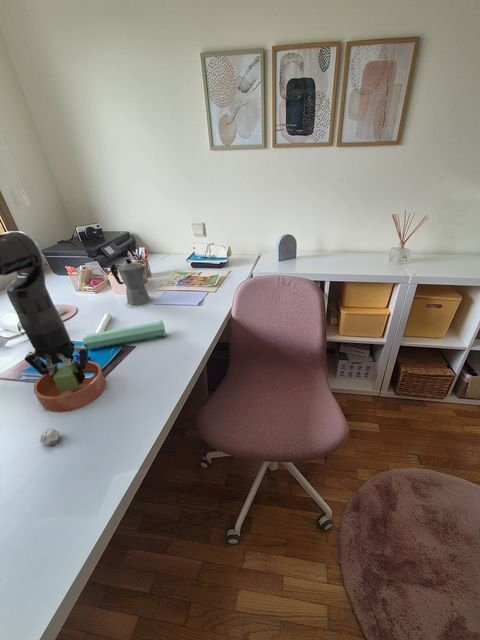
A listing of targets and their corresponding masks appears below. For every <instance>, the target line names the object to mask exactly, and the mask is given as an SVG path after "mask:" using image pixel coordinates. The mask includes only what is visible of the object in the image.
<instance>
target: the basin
mask: <svg viewBox="0 0 480 640" xmlns="http://www.w3.org/2000/svg"><path fill="white" fill-rule="evenodd" d="M77 361H78V362H79V363H80V360H77ZM57 366H58V368H59V367H60V365H57ZM82 371H83V373H95V375H94V376H93V377H91V378H84V380H83V382H82V383H80V384H79V386H78V389H77V390H70V391H64V392H60V391H59V389H58V387H57V385H56V383H55V382H54V380H53V378H52V376H50V375H49V374H45V375H41V376H40V377H38V379H37V380H36V381H35V383H34V384H33V393H34V395H35V397H36V398H37V400H38V402H39V404H40V405H41V407H42V408H43V409H45V410H46V411H49V412H53V413H63V412H64V413H65V412H71V411H73V410H77V409H80V408H82V407H85V406H87V405H88V404H90V403H93V402H94V401H95V400H96V399H97V398H98V397H100V396H101V395H102V394H103V393H104V391H105V390H106V387H107V379H106V377H105V374H104V372H103V369H102V366H101V365H100V364H99V363H97V362H95V361H92V360H88V363H87V365H86V367H85V369H83V370H82Z"/></svg>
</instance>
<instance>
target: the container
mask: <svg viewBox="0 0 480 640" xmlns="http://www.w3.org/2000/svg"><path fill="white" fill-rule="evenodd" d="M166 334H167V333H166V330H165V325H164V321H163V319H159V321H154V322H148V323H144V324H143V323H142V324H137V325H133V326H127V327H121V328H115V329H111V330H104V332H98V333H96V332H93V333H88V334H85V335H84V336H83V338H82V341H83V345H87V346H88V350H92V351H93V350H94V349H93V348H96V349H95V350H97V349H99V348H98V347H101V348H100V349H103V348H106V347H110V346H109V345H112V347H113V346H117V345H123V344H128V343H133V342H138V341H145V340H149V339H154V338H159V337H163V338H166V337H167V335H166ZM104 346H106V347H104Z"/></svg>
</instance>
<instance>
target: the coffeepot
mask: <svg viewBox="0 0 480 640" xmlns="http://www.w3.org/2000/svg"><path fill="white" fill-rule="evenodd" d="M125 262H126V263H123V264H117V263H116V264H114V263H113V264H111V266H110V267H109V271H110V272H111V274H112V276H113V277H114V279H115V281H116V282H117V283H118V285H125V287H126V288H125V290H126V291H125V293H126V299H127V300H126V302H127V304H128V305H130V306H142V305H146V304H147V303H148V302H150V296H149V293H148V291H147V289H146V286H145V284H144V276H143V275H144V272H145V270H146V269H147V267H146V266H144V265H143V264H142V263H139V262H131V259H130V258H126V259H125ZM116 270H117V271H118V273H119V276H120V277H119V276H118V274H117V272H116ZM120 278H121V279H120ZM121 280H122V281H121Z"/></svg>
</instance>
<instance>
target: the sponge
mask: <svg viewBox="0 0 480 640" xmlns="http://www.w3.org/2000/svg"><path fill="white" fill-rule="evenodd" d="M59 366H60V367H59V368H58V370H57V372H56V374H55V375H54V377H53V379H54V381H55V383H56V385H57V387H58V389H59V391H60V392H64V391H70V390H77V389H78V386H79V383H78V381H77V379H76V377H75V375H74V372H73V371H72V369H71V368H70V367H67V366H66V364H65V363H60V365H59Z"/></svg>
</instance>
